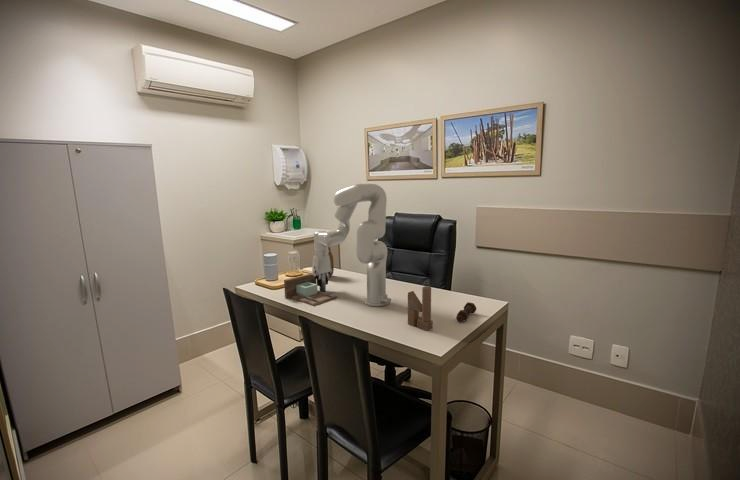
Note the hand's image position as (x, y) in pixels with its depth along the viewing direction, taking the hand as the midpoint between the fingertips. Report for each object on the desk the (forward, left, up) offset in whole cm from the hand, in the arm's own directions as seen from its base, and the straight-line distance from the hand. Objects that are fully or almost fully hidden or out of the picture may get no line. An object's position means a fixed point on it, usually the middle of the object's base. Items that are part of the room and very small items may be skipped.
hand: (322, 284), depth 202 cm
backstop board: (-3, +11, -4) cm, 12 cm away
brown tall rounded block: (+22, -21, -4) cm, 31 cm away
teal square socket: (0, +11, -3) cm, 11 cm away
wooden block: (-70, +6, -4) cm, 70 cm away
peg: (0, 0, -4) cm, 4 cm away
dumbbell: (-80, -16, -4) cm, 81 cm away
